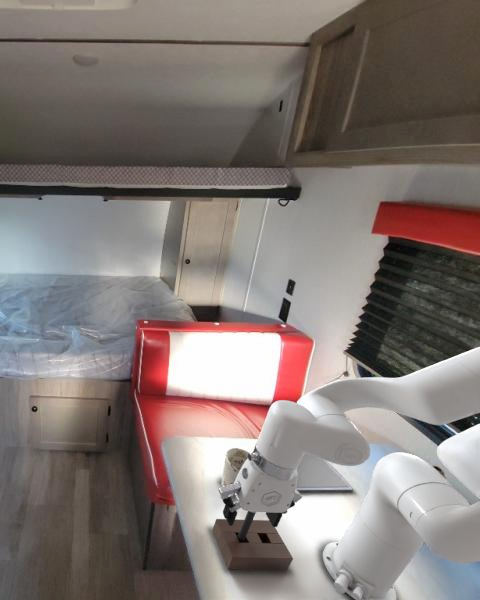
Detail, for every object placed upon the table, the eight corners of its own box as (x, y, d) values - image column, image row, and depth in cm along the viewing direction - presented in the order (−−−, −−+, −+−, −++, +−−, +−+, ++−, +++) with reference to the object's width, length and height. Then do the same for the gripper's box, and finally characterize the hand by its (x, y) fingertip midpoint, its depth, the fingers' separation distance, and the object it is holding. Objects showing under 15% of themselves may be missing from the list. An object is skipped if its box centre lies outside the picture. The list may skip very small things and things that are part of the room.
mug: (250, 483, 92) (260, 456, 88) (248, 522, 81) (260, 493, 77) (218, 470, 95) (227, 443, 91) (213, 505, 84) (223, 476, 81)
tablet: (317, 454, 105) (318, 452, 104) (352, 491, 93) (353, 489, 92) (258, 453, 102) (259, 451, 102) (286, 492, 90) (287, 489, 90)
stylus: (238, 553, 74) (255, 512, 69) (232, 547, 75) (248, 507, 70) (241, 549, 75) (258, 509, 70) (235, 543, 76) (251, 503, 71)
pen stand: (287, 570, 72) (293, 558, 70) (227, 569, 71) (232, 557, 69) (266, 531, 79) (271, 520, 78) (212, 530, 78) (216, 518, 77)
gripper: (241, 474, 61) (217, 536, 67) (329, 478, 62) (298, 539, 68) (223, 443, 68) (203, 501, 74) (303, 447, 69) (277, 504, 75)
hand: (249, 519), depth 71 cm, fingers open, 9 cm apart
